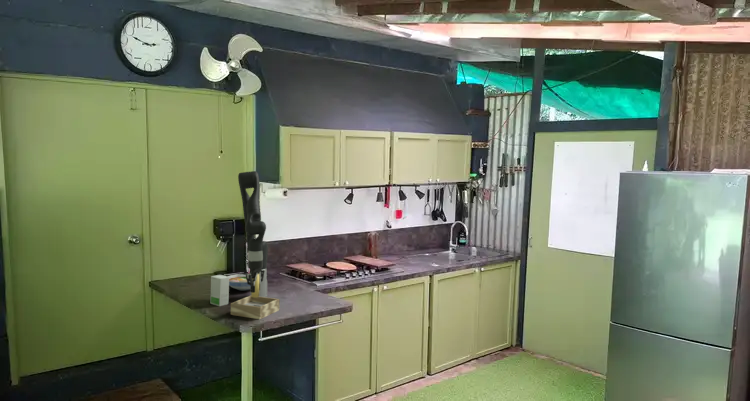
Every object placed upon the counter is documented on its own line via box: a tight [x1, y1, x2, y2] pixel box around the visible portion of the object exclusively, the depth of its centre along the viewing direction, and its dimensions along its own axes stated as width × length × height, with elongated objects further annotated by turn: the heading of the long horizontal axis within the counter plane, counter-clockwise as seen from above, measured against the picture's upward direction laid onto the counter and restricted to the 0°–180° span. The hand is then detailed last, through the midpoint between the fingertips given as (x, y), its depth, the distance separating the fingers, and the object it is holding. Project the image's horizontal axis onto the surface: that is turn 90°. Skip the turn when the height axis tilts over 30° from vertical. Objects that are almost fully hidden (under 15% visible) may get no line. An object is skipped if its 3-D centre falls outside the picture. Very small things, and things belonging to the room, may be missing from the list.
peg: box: [251, 274, 259, 297], centre depth 274 cm, size 4×4×12 cm
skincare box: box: [210, 274, 230, 307], centre depth 289 cm, size 8×7×16 cm
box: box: [230, 295, 281, 320], centre depth 275 cm, size 18×18×6 cm
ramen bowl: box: [227, 272, 269, 292], centre depth 323 cm, size 25×23×8 cm
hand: (255, 291), depth 274 cm, fingers closed on peg, 4 cm apart
